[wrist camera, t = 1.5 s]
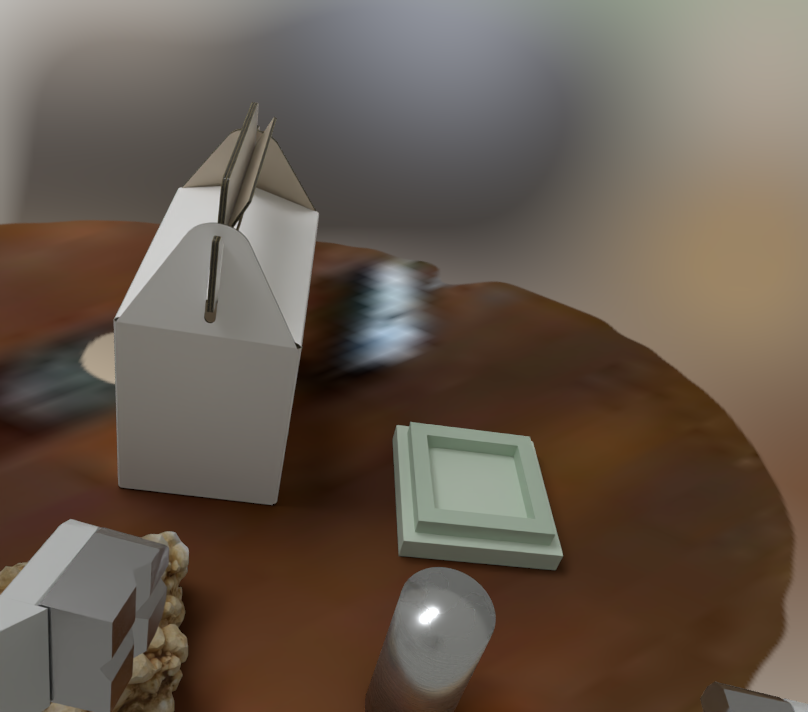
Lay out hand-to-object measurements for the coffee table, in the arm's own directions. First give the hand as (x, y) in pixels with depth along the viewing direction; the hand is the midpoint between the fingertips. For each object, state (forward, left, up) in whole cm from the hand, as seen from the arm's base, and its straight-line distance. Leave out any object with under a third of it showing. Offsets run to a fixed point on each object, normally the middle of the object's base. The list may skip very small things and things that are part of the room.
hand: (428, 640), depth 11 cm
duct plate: (+16, +40, -40) cm, 59 cm away
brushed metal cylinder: (+9, +20, -41) cm, 46 cm away
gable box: (-8, +48, -41) cm, 64 cm away
